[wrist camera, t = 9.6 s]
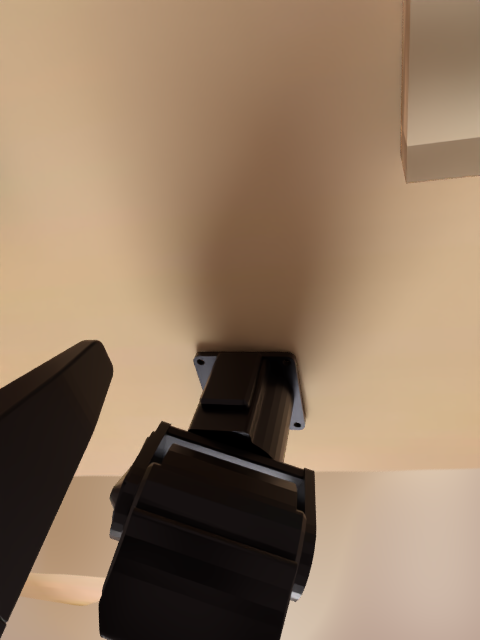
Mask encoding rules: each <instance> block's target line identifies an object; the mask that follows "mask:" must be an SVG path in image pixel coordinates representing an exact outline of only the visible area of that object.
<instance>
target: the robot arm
mask: <svg viewBox="0 0 480 640" xmlns="http://www.w3.org/2000/svg"><path fill="white" fill-rule="evenodd" d="M200 359H202V360H204V361H201V360H200ZM285 360H289V362H287V361H285ZM194 365H195V368H196V371H197V374H198V377H199V380H200V383H201V386H202V389H203V392H202V395H201V397H200V402H199V404H198V407H197V409H196V412H195V414H194V417H193V419H192V422H191V424H190V427H189V429H188V431H185V430H182V429H179V428H176V427H173V426H171V424H169V423H166V422H163V421H161V423H160V425H159V426H158V428H157V430H156V431H155V432H154V431H153V432H152V433H151V435H150V437H147V439H146V441H145V443H144V445H143V447H142V449H141V451H140V453H139V455H138V456H137V458H136V460H135V461H134V463H133V465H132V466H131V467H130V468H129V470H128V471H127V472H126V473H125V474H124V475H123V477H122V478H121V479H120V480H119V481H118V482H117V484H116V485H115V486H114V488H113V489H112V492H111V494H110V501H111V504H112V506H113V509H114V511H113V516H112V524H111V528H110V538H111V539H114V540H117V541H119V543H118V546H117V549H116V551H115V554H114V557H113V560H112V563H111V566H110V568H109V571H108V574H107V577H106V579H105V582H104V585H103V589H102V596H101V599H100V601H99V630H100V636H101V637H102V638H105V639H107V640H280V637H281V633H282V629H283V625H284V621H285V617H286V613H287V609H288V605H289V601H290V600H292V601H295V602H296V601H297V600H298V599H299V598H300V596H301V595H302V593H303V591H304V588H305V586H306V583H307V579H308V577H309V573H310V569H311V565H312V560H313V555H314V549H315V541H316V505H315V475H314V471H312V470H309V469H306V468H304V469H301V468H298V467H295V466H292V465H289V464H286V463H283V462H284V457H285V451H286V445H287V439H288V434H289V429H290V430H302V429H303V428H304V427H305V414H304V408H303V401H302V395H301V388H300V382H299V375H298V369H297V362H296V358H295V356H294V355H293V354H292V353H289V352H198V353H197V354H196V355H195V358H194ZM112 376H113V365H112V363H111V361H110V359H109V357H108V354H107V352H106V350H105V348H104V346H103V344H102V343H101V342H100V341H98V340H84V341H81V342H79V343H77V344H76V345H74V346H72V347H71V348H69V349H67V350H66V351H64V352H62V353H60V354H59V355H57V356H55V357H54V358H52V359H50V360H49V361H47V362H45V363H43V364H42V365H40V366H38V367H37V368H35V369H33V370H32V371H30V372H28V373H26V374H25V375H23V376H21V377H20V378H18V379H16V380H14V381H13V382H11V383H9V384H8V385H6V386H4V387H3V388H1V389H0V638H1V636H2V634H3V631H4V629H5V627H6V622H7V621H8V620H9V617H10V615H11V613H12V611H13V609H14V607H15V604H16V602H17V600H18V598H19V596H20V593H21V591H22V589H23V587H24V584H25V582H26V580H27V578H28V576H29V573H30V571H31V569H32V567H33V565H34V562H35V560H36V558H37V556H38V554H39V551H40V549H41V547H42V545H43V542H44V540H45V538H46V536H47V534H48V531H49V529H50V527H51V525H52V523H53V520H54V518H55V516H56V514H57V512H58V509H59V507H60V505H61V503H62V501H63V498H64V496H65V494H66V492H67V489H68V487H69V485H70V483H71V481H72V478H73V476H74V474H75V472H76V470H77V468H78V465H79V463H80V461H81V459H82V457H83V454H84V452H85V450H86V448H87V445H88V443H89V441H90V439H91V436H92V434H93V432H94V429H95V427H96V424H97V421H98V418H99V415H100V412H101V409H102V406H103V403H104V400H105V397H106V394H107V391H108V388H109V385H110V382H111V379H112ZM297 422H298V423H297Z"/></svg>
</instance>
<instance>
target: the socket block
mask: <svg viewBox="0 0 480 640" xmlns="http://www.w3.org/2000/svg"><path fill="white" fill-rule="evenodd" d="M401 159H402V164H403V169H404V174H405V180H406V183H414V182H424V181H434V180H443V179H453V178H462V177H472V176H480V0H403V30H402V94H401Z"/></svg>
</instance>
